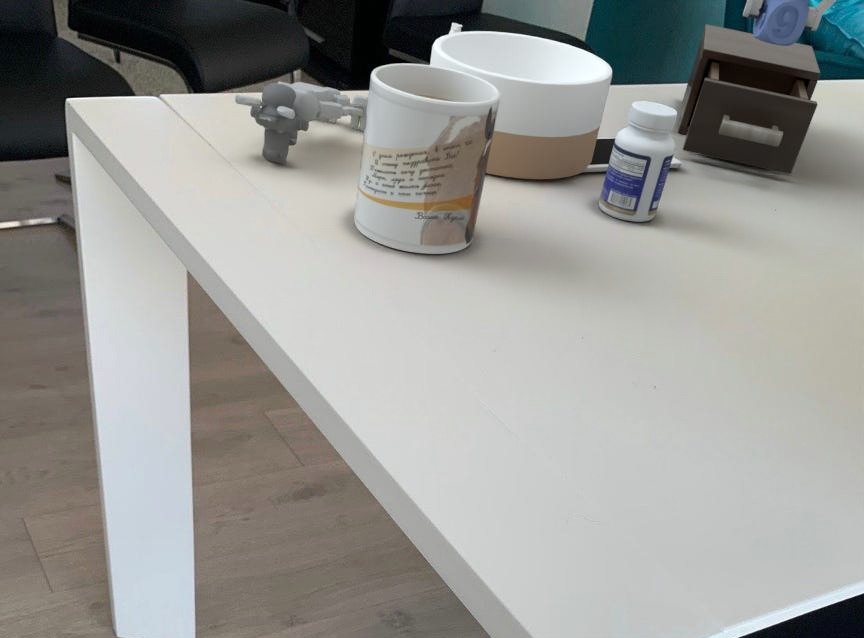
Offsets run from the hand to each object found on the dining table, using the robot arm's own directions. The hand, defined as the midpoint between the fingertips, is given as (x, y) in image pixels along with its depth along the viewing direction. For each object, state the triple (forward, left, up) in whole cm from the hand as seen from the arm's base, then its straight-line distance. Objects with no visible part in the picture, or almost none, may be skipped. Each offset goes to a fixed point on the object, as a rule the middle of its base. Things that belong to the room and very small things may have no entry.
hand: (778, 22), depth 104 cm
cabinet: (0, -11, -13) cm, 17 cm away
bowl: (+23, +17, -13) cm, 31 cm away
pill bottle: (+10, +27, -13) cm, 31 cm away
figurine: (+40, +29, -13) cm, 51 cm away
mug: (+26, +42, -13) cm, 51 cm away
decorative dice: (0, 0, -2) cm, 2 cm away
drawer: (0, +2, -12) cm, 12 cm away
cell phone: (+14, +13, -13) cm, 23 cm away
